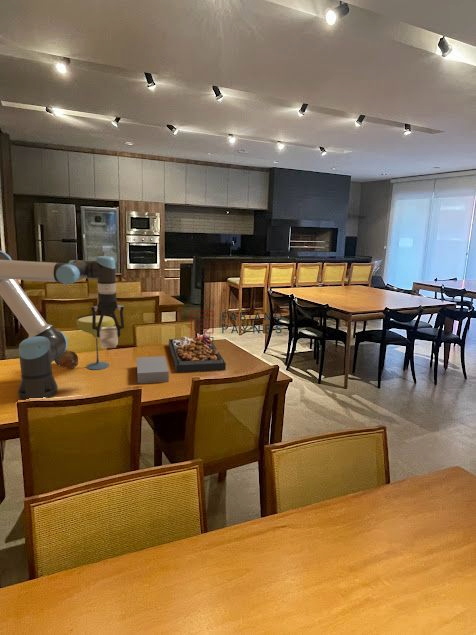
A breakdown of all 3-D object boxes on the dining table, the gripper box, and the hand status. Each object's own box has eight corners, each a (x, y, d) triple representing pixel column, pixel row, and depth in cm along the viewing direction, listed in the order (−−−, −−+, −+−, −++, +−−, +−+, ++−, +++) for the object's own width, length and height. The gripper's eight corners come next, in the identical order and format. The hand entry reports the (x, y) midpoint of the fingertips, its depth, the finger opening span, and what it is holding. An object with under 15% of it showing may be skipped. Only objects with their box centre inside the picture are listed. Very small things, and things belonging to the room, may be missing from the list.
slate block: (137, 383, 191) (137, 373, 189) (136, 366, 211) (136, 357, 210) (168, 381, 194) (168, 371, 193) (164, 365, 215) (164, 356, 214)
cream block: (101, 348, 182) (100, 330, 180) (102, 344, 187) (101, 327, 186) (116, 347, 183) (115, 330, 181) (116, 343, 189) (115, 326, 187)
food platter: (168, 346, 248) (168, 329, 246) (209, 344, 254) (209, 328, 252) (176, 373, 206) (176, 353, 203) (225, 371, 212) (226, 351, 209)
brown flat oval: (53, 364, 211) (52, 348, 209) (58, 362, 213) (57, 347, 211) (74, 370, 204) (73, 354, 202) (79, 368, 207) (79, 352, 205)
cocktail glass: (123, 363, 216) (122, 316, 210) (102, 374, 199) (100, 324, 194) (93, 358, 221) (91, 312, 216) (70, 369, 205) (67, 320, 199)
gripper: (82, 294, 174) (85, 347, 179) (129, 294, 179) (131, 345, 184) (84, 291, 181) (87, 342, 186) (129, 290, 186) (131, 340, 191)
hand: (109, 343), depth 185 cm, fingers closed on cream block, 6 cm apart
